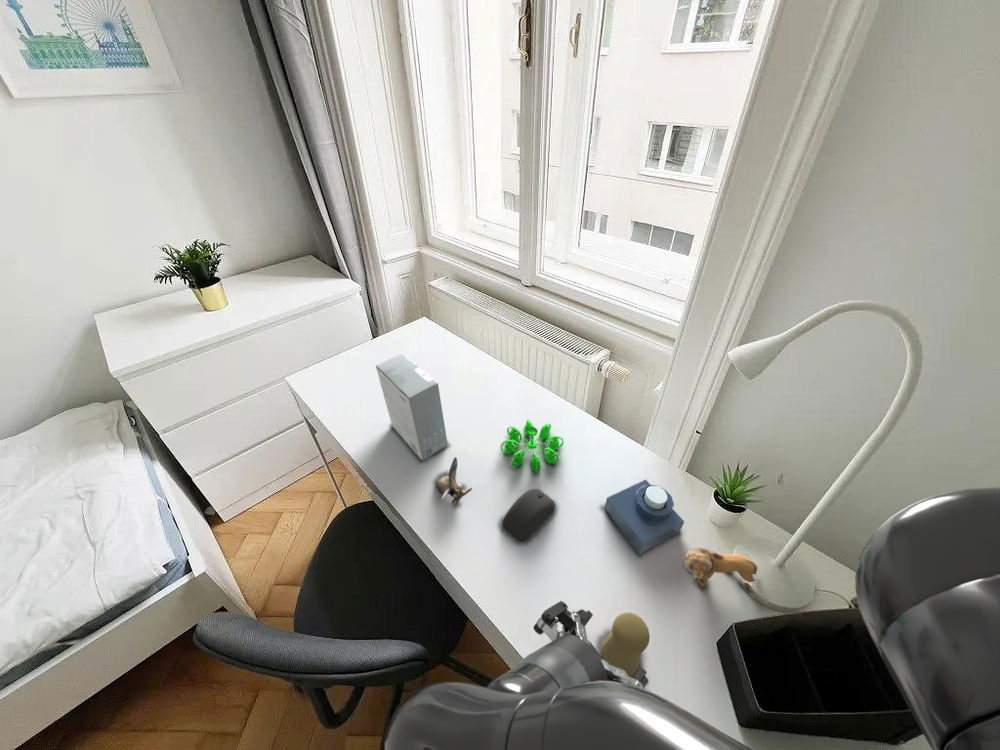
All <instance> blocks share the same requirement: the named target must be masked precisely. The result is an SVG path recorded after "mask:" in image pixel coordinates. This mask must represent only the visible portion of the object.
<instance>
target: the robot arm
mask: <svg viewBox="0 0 1000 750" xmlns="http://www.w3.org/2000/svg"><path fill="white" fill-rule="evenodd" d="M854 590H855V595H856V599H857V604H858V609H859V613H860V616H861V619H862V621H863V624H864V627H865V629H866V630H867V632H868V634H869V636H870V638H871V640H872V642H873V644H874V647H875V648H876V650H877V652H878V654H879V656H880V658H881V659H882V662H883V664H884V665H885V667H886V669H887V671H888V672H889V674H890V677H891V678H892V680H893V681H894V683H895V686H896V687H897V689H898V690H899V692H900V694H901V697H902V698H903V700H904V701H905V704H906V705H907V707H908V708H909V711H910V713H911V714H912V716H913V718H914V720H915V721H916V723H917V725H918V727H919V728H920V731H921V732H922V734H923V736H924V737H925V740H926V742H927V743H928V745H929V747H930V749H931V750H1000V486H996V487H995V486H994V487H992V486H991V487H976V488H975V487H973V488H964V489H958V490H954V491H949V492H944V493H940V494H939V493H938V494H935V495H932V496H928V497H926V498H924V499H921V500H919V501H916V502H914V503H911V504H909V505H908V506H907V507H905V508H903V509H901V510H899V511H898V512H897V513H895V514H893V515H892V516H890V517H889V518H888V519H887V520H886V521H885V522H884V523H882V524H881V525H880V526H879V527H878V528H877V529H876V530H875V531H874V532H873V533H872V535H871V536H870V537H869V539H868V541H867V542H866V544H865V546H864V547H863V549H862V551H861V553H860V556H859V558H858V561H857V565H856V569H855V575H854ZM593 616H594V614H593V613H592V612H591V610H585V609H579V610H577V611H575V610H573V611H569V607H568V605H567V603H565V601H563V600H560V601H558V602H556V603H554V604H553V605H552V606H550V607H548V608H546V609H545V610H544V611H543V612H542V613H541V615H540V616H539V618H538V619H537V621H536V622H535V624H534V625H533V631H534V632H535V633H536V634H538V635H540V636H541V635H543V634H545V635H546V636H547V637H548V638H549V640H550V642H548V643H547V644H545V645H543V646H542V647H540V648H538V649H536V650H535V651H533V652H531V653H529V654H528V655H527V656H525V657H524V658H522V659H521V660H520V661H519V663H517V665H515V666H514V667H512V668H510V669H508V670H507V671H506V672H504V673H502V674H500V675H499V676H496V677H495V678H494V679H492V680H490V681H489V682H487V683H486V684H485V685H484V686H482V685H479V684H475V683H472V682H465V681H455V680H446V681H444V680H443V681H438V682H432V683H428V684H426V685H424V686H421V687H419V688H417V689H416V690H414V691H413V692H411V693H409V694H408V695H407V696H406V697H404V699H403V700H402V701H401V702H400V703H399V704H398V705H397V707H396V709H395V711H394V712H393V714H392V716H391V718H390V720H389V722H388V724H387V728H386V732H385V737H384V750H753V748H750V747H749V746H747V745H746V744H743V743H742V742H740V741H738V740H737V739H735V738H734V737H731V736H730V735H728V734H727V733H724V732H723V731H721V730H719V729H718V728H716V727H715V726H713V725H711V724H710V723H708V722H707V721H705V720H703V719H701V718H700V717H698V716H697V715H695V714H693V713H692V712H690V711H688V710H686V709H684V708H682V707H681V706H679V705H677V704H675V703H674V702H672V701H670V700H668V699H667V698H664V697H663V696H661V695H659V694H657V693H654V692H652V691H651V690H648V689H645V688H646V686H647V685H648V684H649V678H648V677H647V676H646V675H647V674H648V672H647V671H646V669H645V668H644V667H641V668H640V669H639V670H638V671H637V673H636V674H635V675H633V677H632V676H627V674H626V672H625V670H622V669H620V668H617V667H615V666H612V665H610V664H609V663H608V662H607V661H606V660H605V659H604V658H603V657H602V655H601V654H600V653H599V651H598V650H597V648H596V647H595V646H594V645H593V644H592V643H591V641H590V640H589V639H588V634H587V631H586V626H587V624H588V623H589V621H590V620H591V619H592V617H593ZM558 623H559V624H561V625H562V626H561V629H562V631H559V630H558Z"/></svg>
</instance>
